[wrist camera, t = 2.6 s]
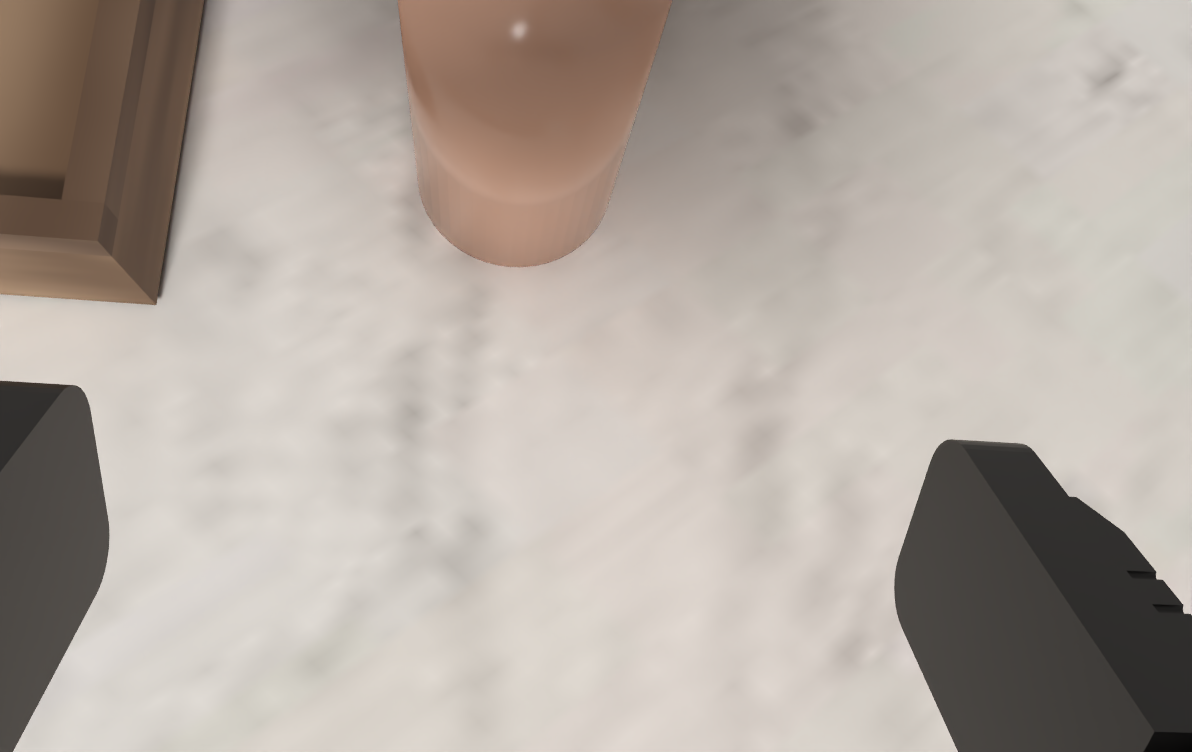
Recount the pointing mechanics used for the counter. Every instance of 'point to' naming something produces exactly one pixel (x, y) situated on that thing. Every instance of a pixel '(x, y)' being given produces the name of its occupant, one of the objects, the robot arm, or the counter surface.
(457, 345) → the counter surface
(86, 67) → the square brown tray
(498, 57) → the tan cylinder
